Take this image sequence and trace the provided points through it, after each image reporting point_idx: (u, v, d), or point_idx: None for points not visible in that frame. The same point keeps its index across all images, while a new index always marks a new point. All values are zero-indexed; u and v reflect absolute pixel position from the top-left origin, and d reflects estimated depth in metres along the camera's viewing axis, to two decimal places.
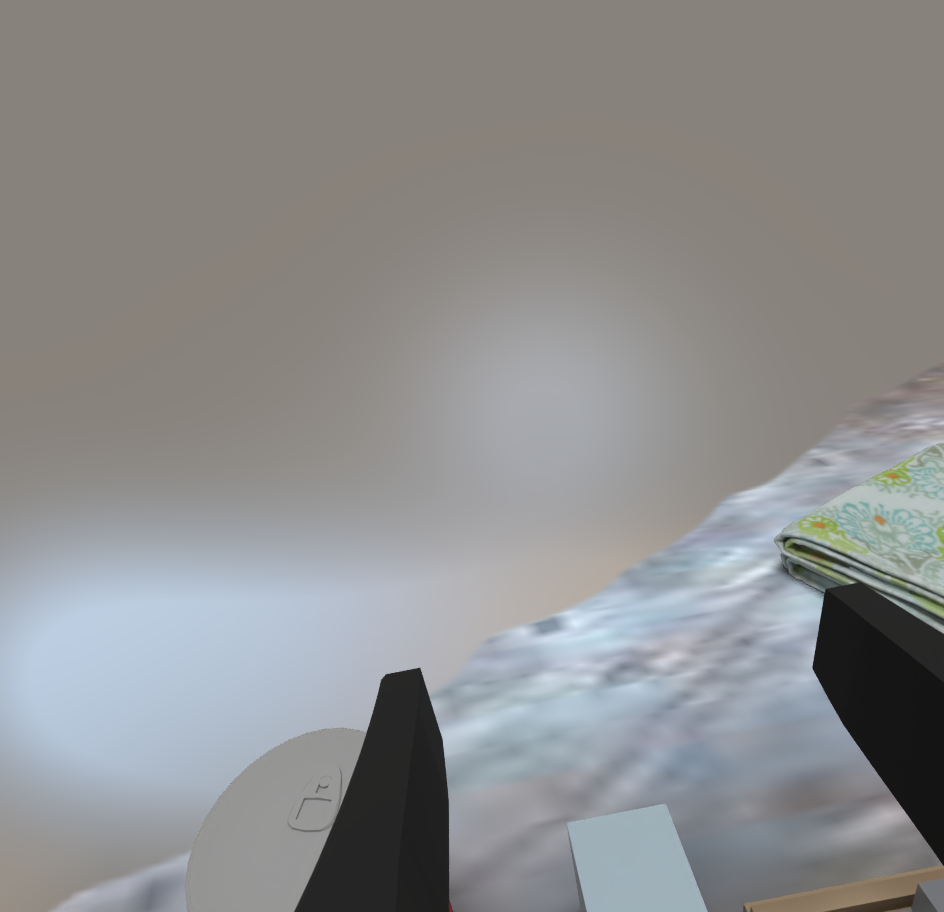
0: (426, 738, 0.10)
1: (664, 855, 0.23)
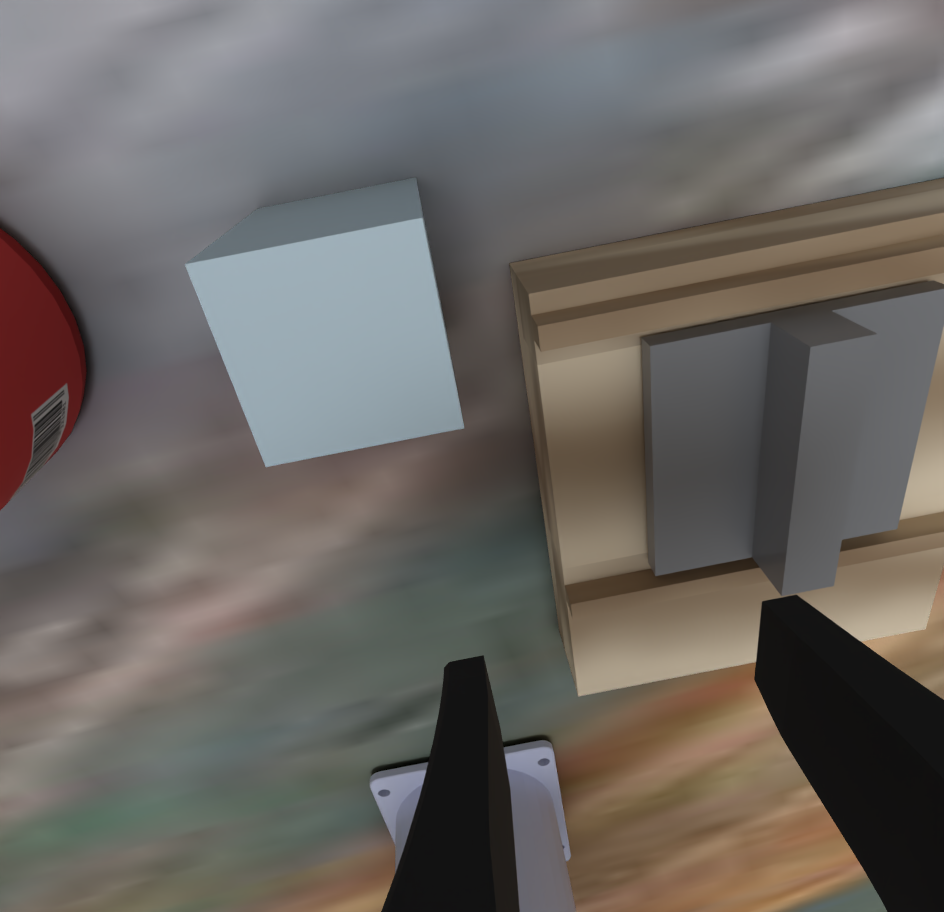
0: (494, 725, 0.10)
1: (403, 334, 0.11)
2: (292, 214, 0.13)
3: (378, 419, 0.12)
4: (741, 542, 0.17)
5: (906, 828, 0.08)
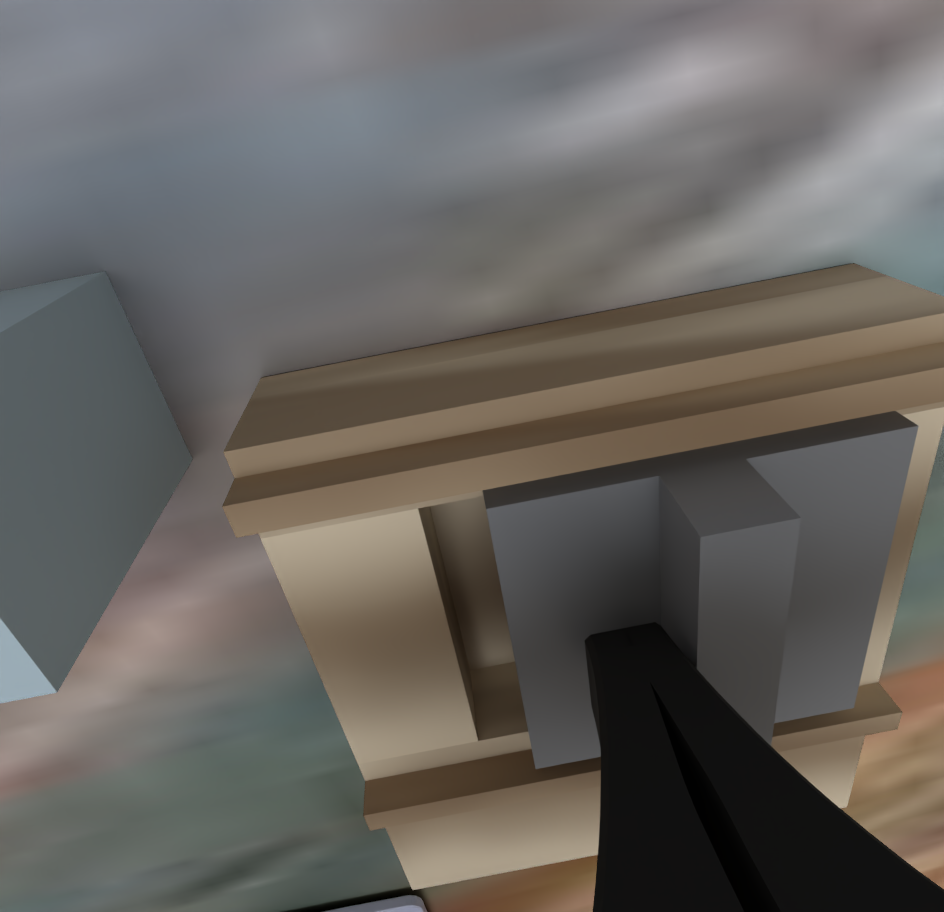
0: None
1: None
2: None
3: None
4: None
5: None
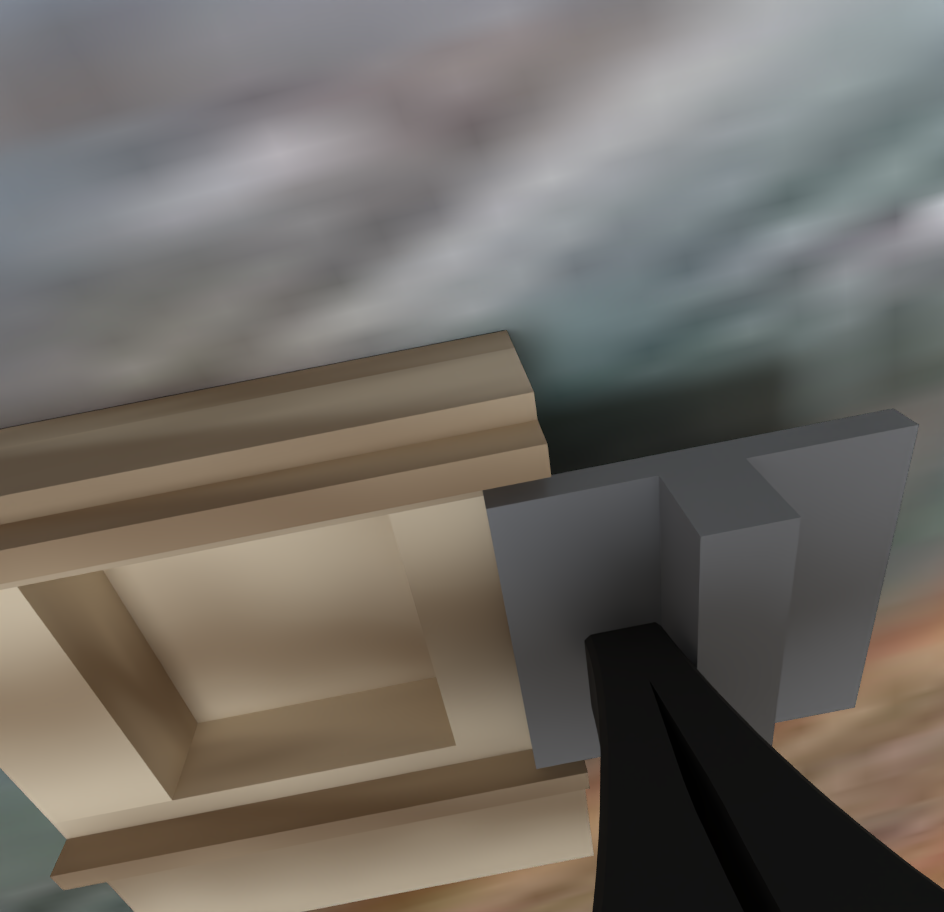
0: None
1: None
2: None
3: None
4: None
5: None
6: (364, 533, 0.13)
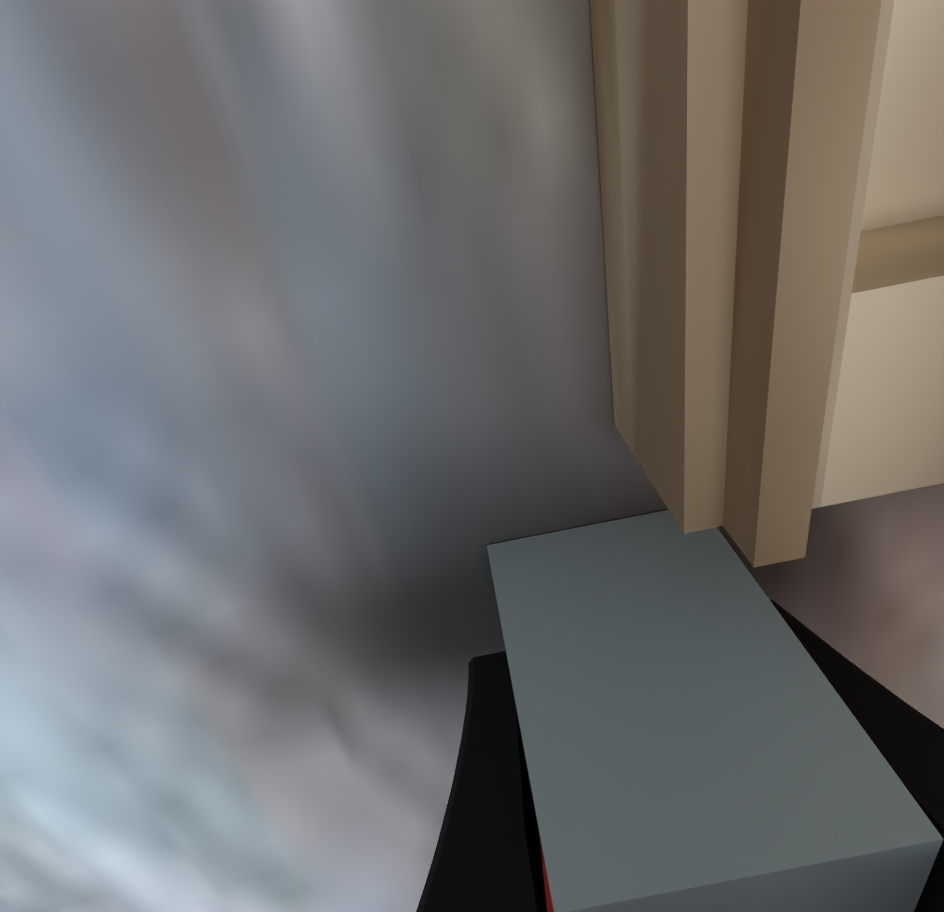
0: None
1: None
2: None
3: None
4: None
5: None
6: None
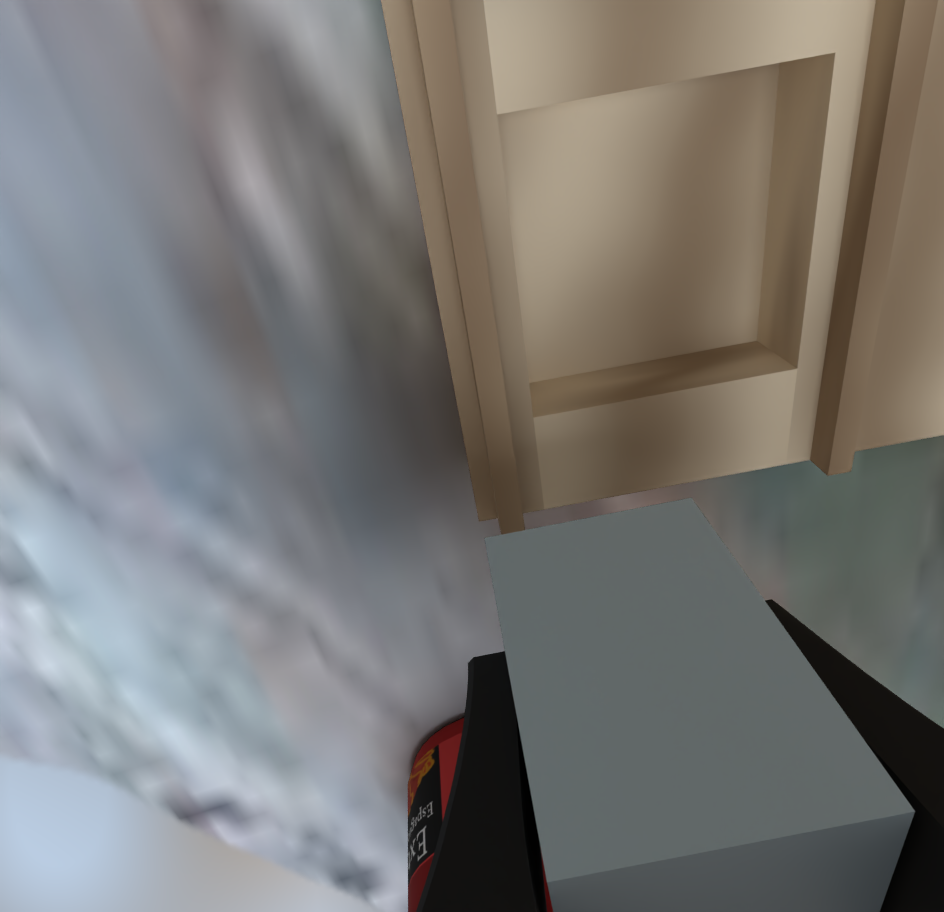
0: None
1: (719, 883, 0.07)
2: None
3: (844, 894, 0.07)
4: None
5: None
6: (567, 147, 0.14)
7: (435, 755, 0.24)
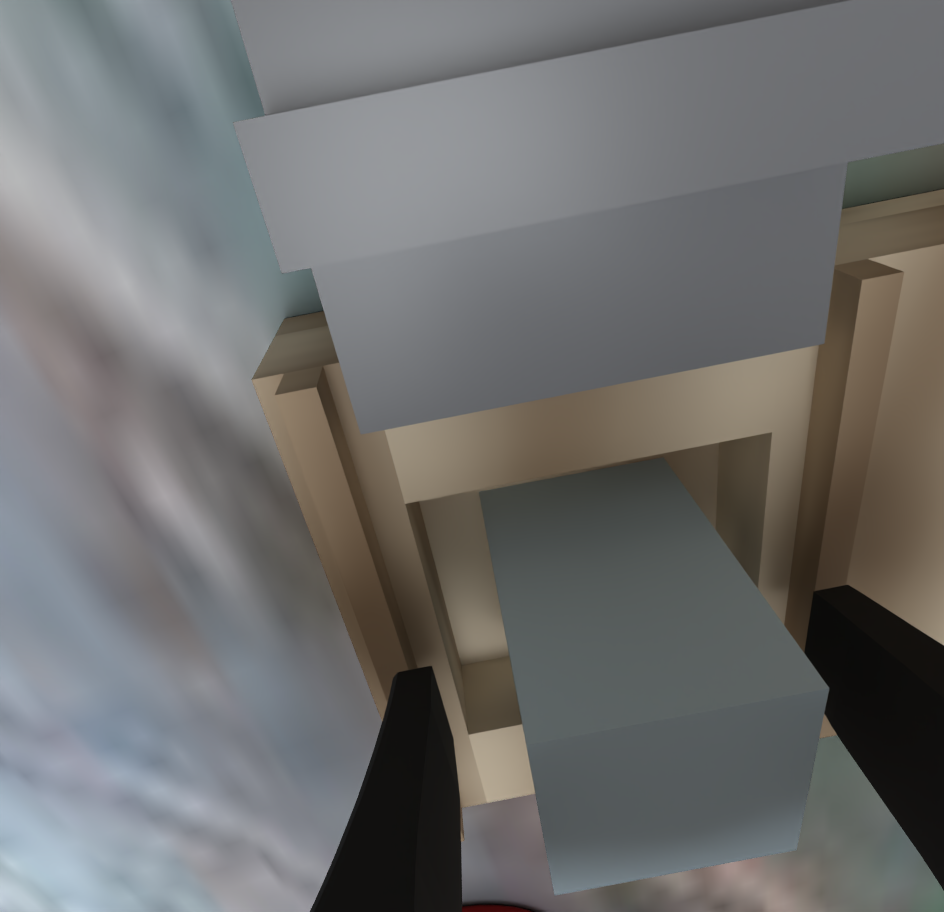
0: (439, 736, 0.10)
1: (669, 753, 0.08)
2: None
3: (777, 768, 0.09)
4: (799, 173, 0.08)
5: None
6: None
7: None
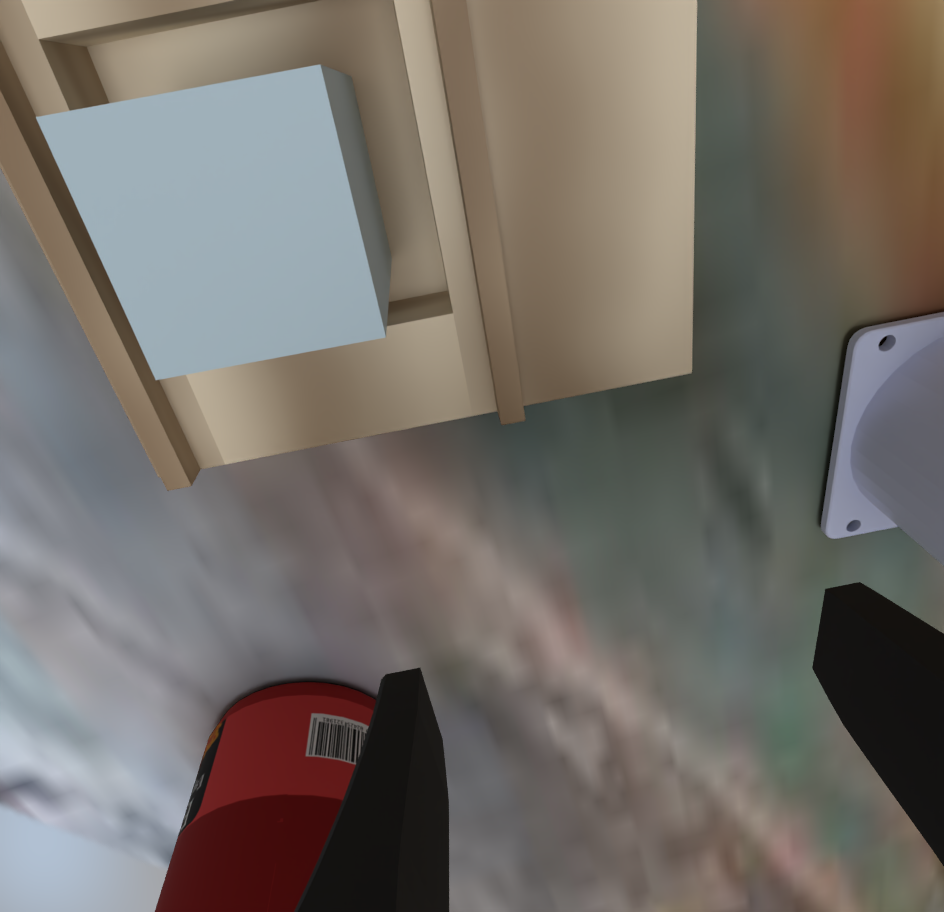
0: (426, 738, 0.10)
1: (191, 151, 0.09)
2: None
3: (314, 193, 0.09)
4: None
5: None
6: (186, 84, 0.14)
7: (220, 728, 0.24)
